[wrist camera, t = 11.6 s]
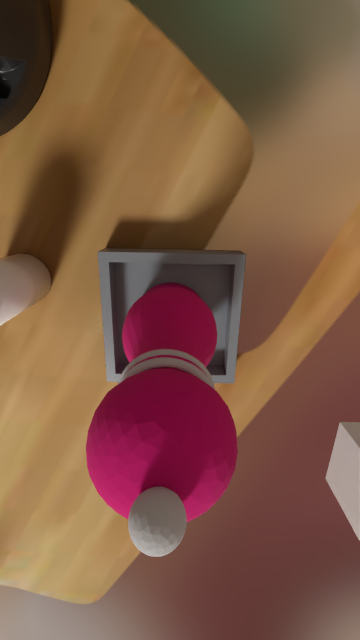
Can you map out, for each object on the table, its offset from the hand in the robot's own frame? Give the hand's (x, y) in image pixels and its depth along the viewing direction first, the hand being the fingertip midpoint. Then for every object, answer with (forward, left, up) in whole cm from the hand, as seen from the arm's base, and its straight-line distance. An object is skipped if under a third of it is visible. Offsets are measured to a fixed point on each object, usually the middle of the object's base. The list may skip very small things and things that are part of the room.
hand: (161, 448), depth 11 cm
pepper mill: (0, 0, -17) cm, 17 cm away
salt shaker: (-3, -13, -17) cm, 22 cm away
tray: (0, 0, -17) cm, 17 cm away
